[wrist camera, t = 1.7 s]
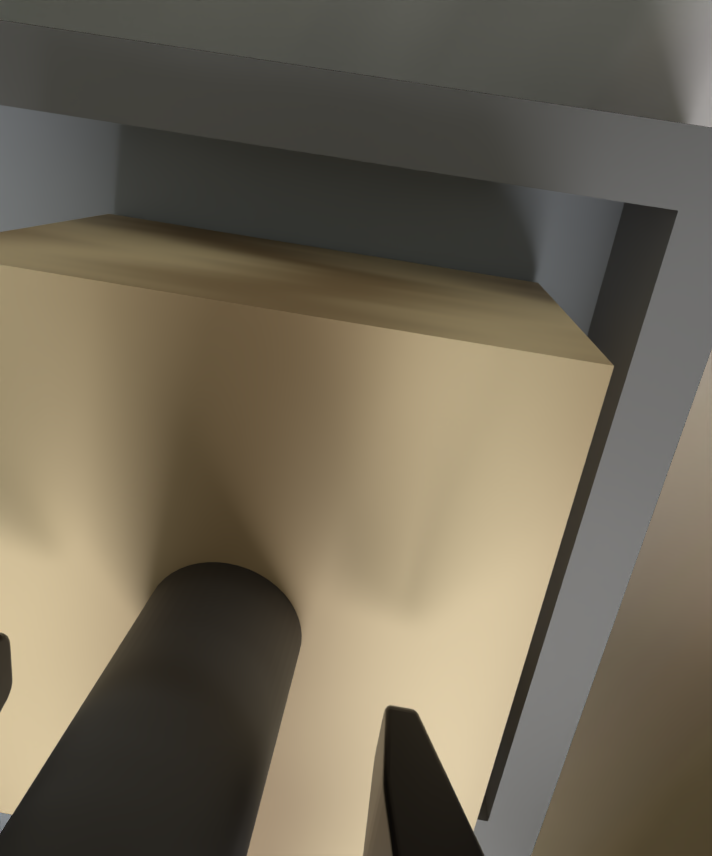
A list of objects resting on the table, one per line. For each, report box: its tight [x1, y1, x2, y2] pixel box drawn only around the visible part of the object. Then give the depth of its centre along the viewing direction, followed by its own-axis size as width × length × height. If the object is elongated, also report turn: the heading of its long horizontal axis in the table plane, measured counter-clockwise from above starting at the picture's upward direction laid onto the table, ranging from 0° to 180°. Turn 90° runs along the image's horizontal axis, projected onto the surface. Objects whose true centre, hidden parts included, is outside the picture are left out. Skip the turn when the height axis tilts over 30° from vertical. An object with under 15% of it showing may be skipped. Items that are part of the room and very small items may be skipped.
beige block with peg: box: [0, 214, 614, 856], centre depth 11 cm, size 9×10×11 cm
